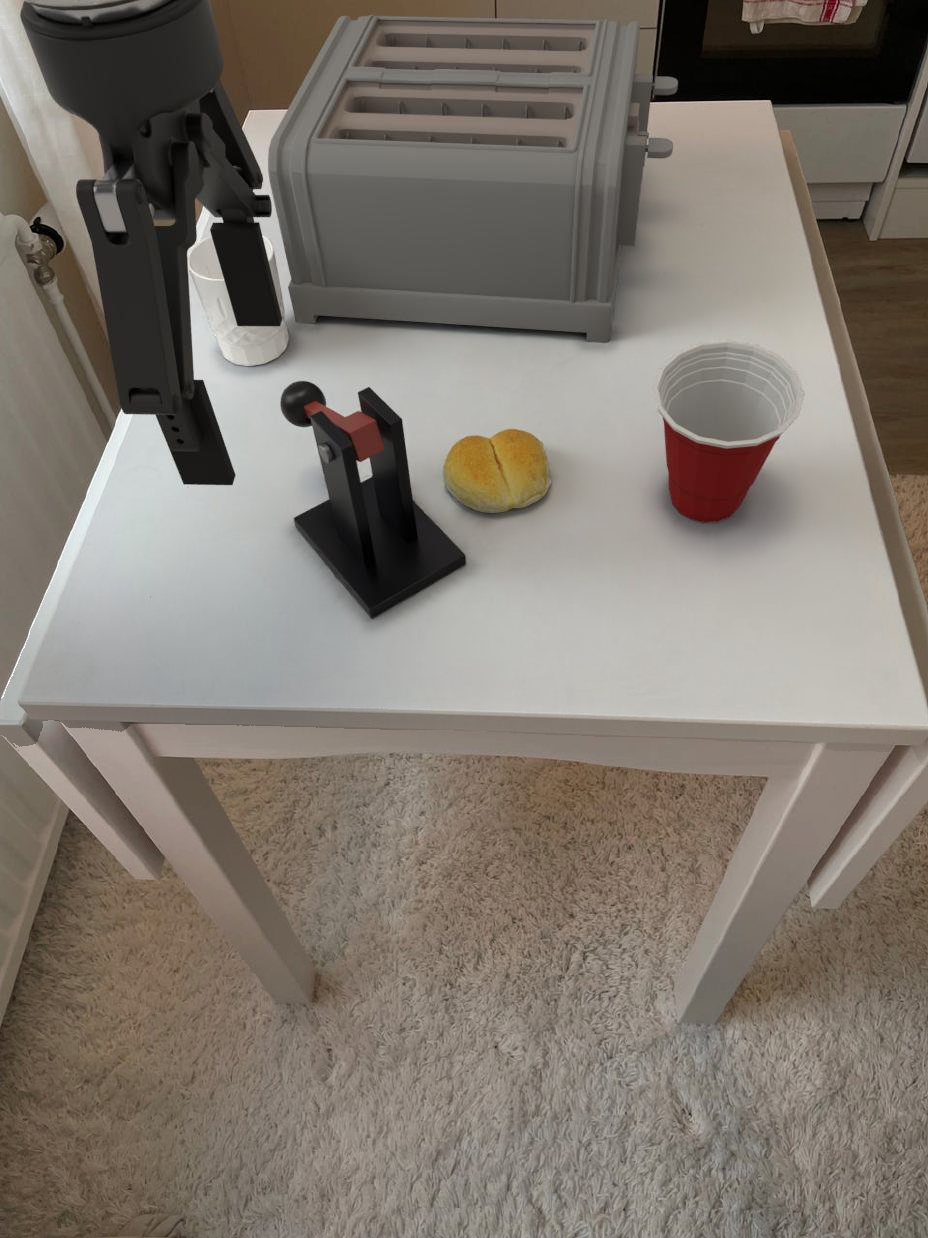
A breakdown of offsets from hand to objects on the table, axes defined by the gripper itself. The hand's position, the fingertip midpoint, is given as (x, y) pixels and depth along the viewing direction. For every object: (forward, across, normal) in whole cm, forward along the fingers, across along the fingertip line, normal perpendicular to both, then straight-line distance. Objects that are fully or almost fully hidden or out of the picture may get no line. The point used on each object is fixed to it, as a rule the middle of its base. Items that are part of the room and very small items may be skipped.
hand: (236, 396), depth 55 cm
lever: (+14, +11, -2) cm, 18 cm away
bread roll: (+23, +16, -14) cm, 31 cm away
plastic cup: (+23, +14, -31) cm, 41 cm away
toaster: (+23, +51, -11) cm, 57 cm away
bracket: (+23, +8, -5) cm, 24 cm away
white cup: (+23, +34, +11) cm, 42 cm away
